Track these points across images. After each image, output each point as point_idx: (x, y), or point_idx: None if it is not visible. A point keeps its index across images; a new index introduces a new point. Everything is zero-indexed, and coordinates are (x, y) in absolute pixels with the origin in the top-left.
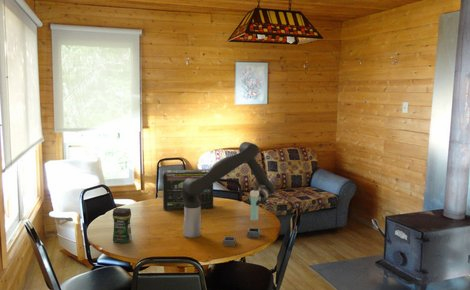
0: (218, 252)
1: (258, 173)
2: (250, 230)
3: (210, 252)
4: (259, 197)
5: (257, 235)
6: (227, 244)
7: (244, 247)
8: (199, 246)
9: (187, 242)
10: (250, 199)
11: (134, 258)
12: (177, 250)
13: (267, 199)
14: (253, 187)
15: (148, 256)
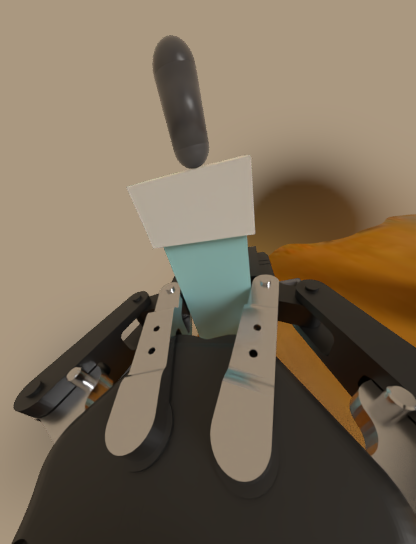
0: (283, 265)
1: None
2: None
3: (297, 261)
4: (155, 342)
5: None
6: None
7: None
8: (347, 270)
9: (407, 276)
10: (266, 275)
11: (393, 216)
12: (368, 246)
13: (61, 366)
14: (197, 86)
15: (383, 223)
